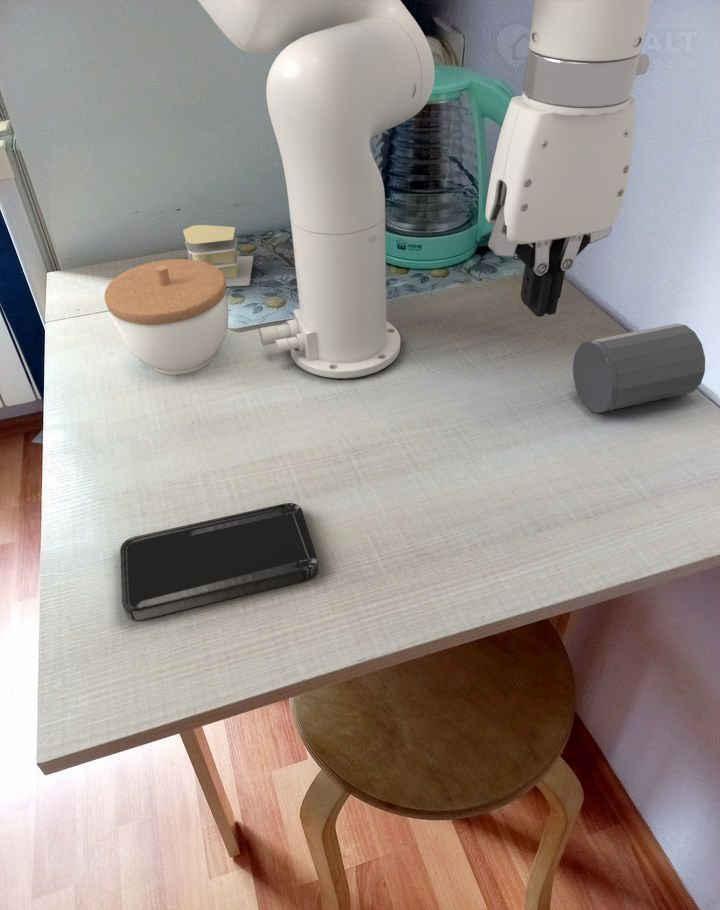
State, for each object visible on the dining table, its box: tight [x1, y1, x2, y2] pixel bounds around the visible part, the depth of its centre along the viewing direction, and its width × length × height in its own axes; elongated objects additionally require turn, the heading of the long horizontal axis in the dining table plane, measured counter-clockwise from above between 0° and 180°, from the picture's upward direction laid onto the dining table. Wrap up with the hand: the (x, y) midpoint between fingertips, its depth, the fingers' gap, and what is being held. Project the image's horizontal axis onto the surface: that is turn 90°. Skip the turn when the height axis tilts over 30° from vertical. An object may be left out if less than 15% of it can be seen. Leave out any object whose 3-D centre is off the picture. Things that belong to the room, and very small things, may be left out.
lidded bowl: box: [104, 258, 229, 376], centre depth 77 cm, size 13×13×11 cm
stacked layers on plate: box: [182, 224, 254, 288], centre depth 95 cm, size 10×9×6 cm
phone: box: [119, 502, 319, 621], centre depth 57 cm, size 8×1×15 cm
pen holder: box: [572, 322, 706, 413], centre depth 70 cm, size 7×7×10 cm
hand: (538, 307), depth 62 cm, fingers closed
